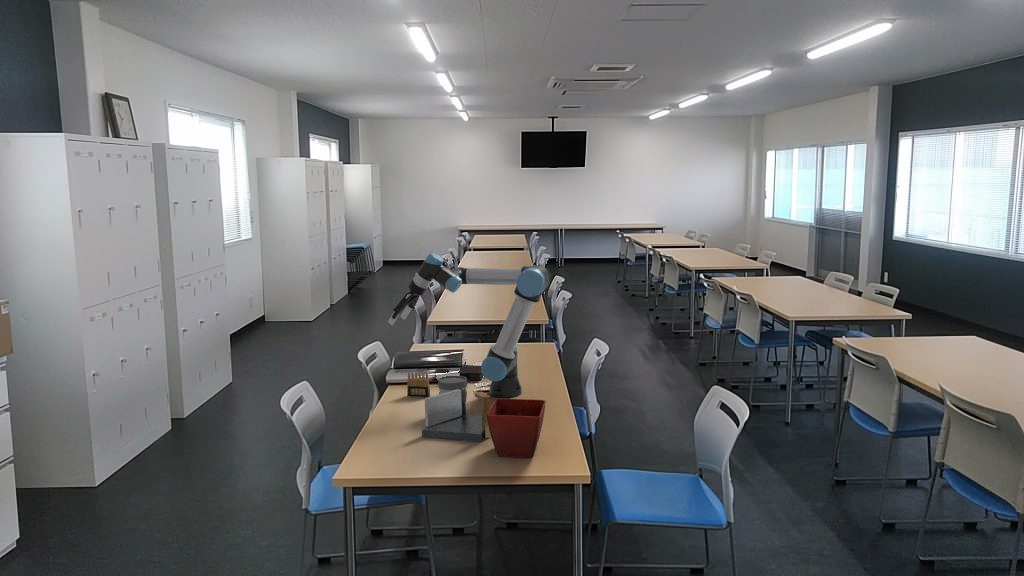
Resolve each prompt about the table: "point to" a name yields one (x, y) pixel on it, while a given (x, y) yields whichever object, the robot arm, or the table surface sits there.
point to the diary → (467, 372)
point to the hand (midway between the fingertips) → (396, 320)
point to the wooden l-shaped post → (484, 412)
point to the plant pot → (516, 426)
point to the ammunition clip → (418, 385)
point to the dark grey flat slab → (457, 429)
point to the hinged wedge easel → (445, 406)
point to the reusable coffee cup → (452, 383)
